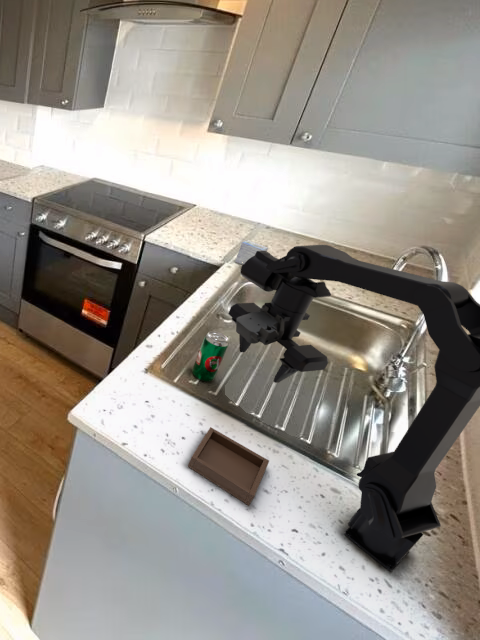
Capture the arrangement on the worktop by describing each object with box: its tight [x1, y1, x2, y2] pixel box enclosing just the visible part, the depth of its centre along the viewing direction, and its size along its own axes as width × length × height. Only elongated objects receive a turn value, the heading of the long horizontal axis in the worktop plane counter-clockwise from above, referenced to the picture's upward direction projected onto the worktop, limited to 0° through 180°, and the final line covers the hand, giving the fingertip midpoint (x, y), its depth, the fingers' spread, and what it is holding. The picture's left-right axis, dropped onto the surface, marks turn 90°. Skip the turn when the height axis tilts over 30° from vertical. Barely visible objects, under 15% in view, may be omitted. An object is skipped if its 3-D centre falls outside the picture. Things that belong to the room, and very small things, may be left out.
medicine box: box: [234, 239, 269, 266], centre depth 163 cm, size 8×4×9 cm, turn 34°
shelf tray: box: [187, 426, 270, 506], centre depth 81 cm, size 11×11×3 cm
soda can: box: [191, 330, 230, 383], centre depth 102 cm, size 5×5×12 cm
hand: (258, 366), depth 90 cm, fingers open, 9 cm apart
